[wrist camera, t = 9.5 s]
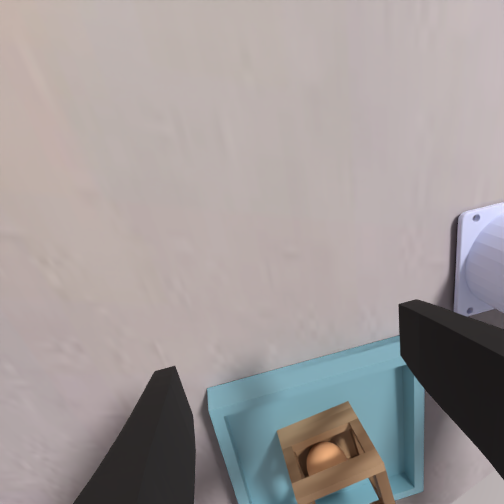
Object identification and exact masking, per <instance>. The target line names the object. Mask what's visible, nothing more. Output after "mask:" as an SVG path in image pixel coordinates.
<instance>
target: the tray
mask: <svg viewBox="0 0 504 504" xmlns="http://www.w3.org/2000/svg"><path fill="white" fill-rule="evenodd" d="M424 390H425V389H424V388H423V386H422V385H421V384H420V383H419V382H418V380H417V379H416V377H415V376H414V375H413V373H412V372H411V370H410V369H409V368H408V366H407V365H406V363H405V362H404V360H403V359H402V357H401V356H400V335H399V336H395V337H392V338H388V339H384V340H381V341H377V342H373V343H370V344H366V345H363V346H359V347H355V348H352V349H348V350H344V351H341V352H337V353H334V354H330V355H326V356H323V357H319V358H315V359H312V360H308V361H305V362H301V363H297V364H294V365H290V366H286V367H283V368H279V369H276V370H272V371H268V372H265V373H261V374H257V375H254V376H250V377H247V378H243V379H239V380H236V381H232V382H229V383H225V384H221V385H218V386H214V387H210V388H207V393H208V411H209V414H210V417H211V420H212V423H213V427H214V430H215V433H216V436H217V439H218V442H219V445H220V448H221V451H222V454H223V458H224V461H225V464H226V467H227V470H228V473H229V476H230V479H231V482H232V486H233V489H234V492H235V495H236V498H237V501H238V504H298V503H297V501H296V498H295V494H294V491H293V487H292V484H291V480H290V477H289V473H288V469H287V466H286V462H285V459H284V455H283V452H282V448H281V444H280V441H279V437H278V434H277V430H279V429H282V428H284V427H286V426H289V425H291V424H294V423H296V422H298V421H301V420H303V419H306V418H308V417H311V416H313V415H315V414H318V413H320V412H323V411H325V410H327V409H330V408H332V407H335V406H337V405H340V404H342V403H344V402H347V401H349V403H350V405H351V407H352V408H353V410H354V412H355V414H356V415H357V417H358V419H359V421H360V422H361V424H362V426H363V428H364V429H365V431H366V433H367V434H368V436H369V438H370V440H371V441H372V443H373V445H374V447H375V448H376V450H377V452H378V454H379V455H380V457H381V459H382V461H383V462H384V465H385V469H386V472H387V476H388V479H389V483H390V486H391V490H392V493H393V497H394V500H398V499H401V498H404V497H408V496H411V495H414V494H417V493H420V492H423V484H424ZM377 500H379V498H378V496H377V494H376V493H375V491H374V489H373V487H372V485H371V483H370V481H369V479H368V478H366V479H364V480H362V481H359V482H357V483H354V484H352V485H350V486H347V487H345V488H343V489H340V490H338V491H336V492H333V493H331V494H328V495H326V496H324V497H321V498H319V499H317V500H315V503H316V504H369V503H372V502H374V501H377Z"/></svg>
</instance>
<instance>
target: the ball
mask: <svg viewBox="0 0 504 504" xmlns="http://www.w3.org/2000/svg"><path fill="white" fill-rule="evenodd" d="M345 461H347V457H346V455H345V453H344V452H343V451H342V450H341V449H340V448H339V447H338V446H337V445H335V444H333V443H330V442H320V443H318V444H316V445H315V446H313V447H312V449H311V450H310V451H309V454H308V456H307V471H308V474H309V476H311V475H314V474H316V473H318V472H321V471H323V470H326V469H328V468H330V467H333V466H335V465H337V464H340V463H342V462H345Z"/></svg>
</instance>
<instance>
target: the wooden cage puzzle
mask: <svg viewBox="0 0 504 504" xmlns="http://www.w3.org/2000/svg"><path fill="white" fill-rule="evenodd" d="M277 434H278V437H279V441H280V444H281V448H282V452H283V455H284V459H285V462H286V466H287V469H288V473H289V477H290V480H291V484H292V487H293V491H294V494H295V498H296V501H297V503H298V504H316V503H315V500H317V499H319V498H321V497H324V496H326V495H328V494H331V493H333V492H336V491H338V490H340V489H343V488H345V487H347V486H350V485H352V484H354V483H357V482H359V481H362V480H364V479H366V478H368V479H369V481H370V483H371V485H372V487H373V489H374V491H375V493H376V494H377V496H378V498H379V500H377V501H374V502H372V503H369V504H395V500H394V497H393V493H392V490H391V486H390V483H389V479H388V476H387V472H386V469H385V465H384V462H383V461H382V459H381V457H380V455H379V454H378V452H377V450H376V448H375V447H374V445H373V443H372V441H371V440H370V438H369V436H368V434H367V433H366V431H365V429H364V428H363V426H362V424H361V422H360V421H359V419H358V417H357V415H356V414H355V412H354V410H353V408H352V407H351V405H350V403H349V401H347V402H344V403H342V404H340V405H337V406H335V407H332V408H330V409H327V410H325V411H323V412H320V413H318V414H315V415H313V416H311V417H308V418H306V419H303V420H301V421H298V422H296V423H294V424H291V425H289V426H286V427H284V428H282V429H279V430H277ZM320 442H330V443H333V444H335V445H337V446H338V447H339V448H340V449H341V450H342V451H343V452H344V453H345V455H346V457H347V461H345V462H342V463H340V464H337V465H335V466H333V467H330V468H328V469H326V470H323V471H321V472H318V473H316V474H314V475H311V476H309V474H308V471H307V456H308V454H309V451H310V450H311V449H312V447H313V446H315V445H316V444H318V443H320Z"/></svg>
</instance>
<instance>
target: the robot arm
mask: <svg viewBox="0 0 504 504" xmlns="http://www.w3.org/2000/svg"><path fill="white" fill-rule="evenodd" d="M474 216H475V218H474V219H473V217H474ZM468 308H469V309H468ZM467 309H468V310H467ZM493 309H497V310H499V311H500V312H502V313H504V202H502V203H498V204H494V205H489V206H485V207H481V208H477V209H473V210H469V211H465V212H463V213H462V214H461V215H460V216H459V219H458V234H457V255H456V275H455V296H454V312H453V311H450V310H447V309H444V308H442V307H439V306H436V305H433V304H430V303H427V302H424V301H420V300H417V299H416V300H412V301H408V302H405V303H401V304H399V332H400V356H401V357H402V359H403V360H404V362H405V363H406V365H407V366H408V368H409V369H410V370H411V372H412V373H413V375H414V376H415V377H416V379H417V380H418V382H419V383H420V384H421V385H422V386H423V388H424V389H425V390H426V391H427V392H428V393H429V394H430V395H431V397H432V398H433V399H434V400H435V401H436V402H437V403H438V404H439V406H440V407H441V408H442V409H443V410H444V411H445V412H446V413H447V414H448V415H449V417H450V418H451V419H452V420H453V421H454V422H455V423H456V424H457V425H458V426H459V428H460V429H461V430H462V431H463V432H464V433H465V434H466V435H467V436H468V438H469V439H470V440H471V441H472V442H473V443H474V444H475V445H476V446H477V447H478V449H479V450H480V451H481V452H482V453H483V455H484V456H485V457H486V458H487V459H488V460H489V462H490V463H491V464H492V465H493V467H494V468H495V469H496V471H497V472H498V473H499V474H500V476H501V477H502V478H503V479H504V329H501V328H498V327H495V326H492V325H489V324H486V323H484V322H481V321H478V320H475V319H472V318H469V317H467V316H471V315H475V314H478V313H482V312H485V311H489V310H493ZM195 453H196V449H195V434H194V421H193V414H192V411H191V409H190V406H189V403H188V400H187V397H186V395H185V392H184V389H183V386H182V384H181V381H180V378H179V375H178V372H177V370H176V367H175V366H172V367H169V368H165V369H162V370H158V371H155V372H154V374H153V375H152V377H151V379H150V381H149V382H148V384H147V386H146V388H145V390H144V392H143V394H142V395H141V397H140V399H139V401H138V403H137V404H136V406H135V408H134V410H133V412H132V413H131V415H130V417H129V419H128V420H127V422H126V424H125V425H124V427H123V429H122V431H121V432H120V434H119V436H118V437H117V439H116V441H115V442H114V444H113V445H112V447H111V448H110V450H109V452H108V453H107V455H106V456H105V458H104V459H103V461H102V463H101V464H100V466H99V467H98V469H97V470H96V472H95V473H94V475H93V476H92V478H91V479H90V481H89V482H88V483H87V485H86V486H85V488H84V489H83V491H82V492H81V493H80V495H79V496H78V498H77V499H76V500H75V502H74V503H73V504H194V484H195Z"/></svg>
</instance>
